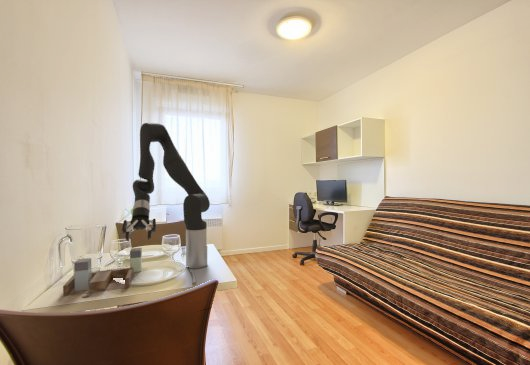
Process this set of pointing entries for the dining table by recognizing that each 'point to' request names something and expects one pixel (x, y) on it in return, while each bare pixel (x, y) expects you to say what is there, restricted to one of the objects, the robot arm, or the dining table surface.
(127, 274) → the comb rack
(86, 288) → the block
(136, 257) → the grey upright block
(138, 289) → the dining table surface
